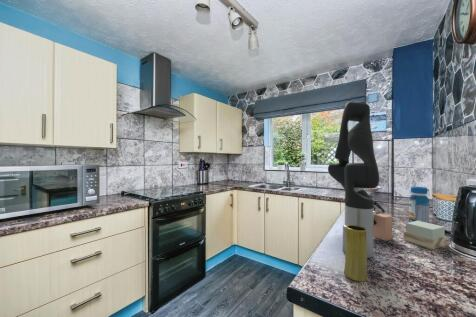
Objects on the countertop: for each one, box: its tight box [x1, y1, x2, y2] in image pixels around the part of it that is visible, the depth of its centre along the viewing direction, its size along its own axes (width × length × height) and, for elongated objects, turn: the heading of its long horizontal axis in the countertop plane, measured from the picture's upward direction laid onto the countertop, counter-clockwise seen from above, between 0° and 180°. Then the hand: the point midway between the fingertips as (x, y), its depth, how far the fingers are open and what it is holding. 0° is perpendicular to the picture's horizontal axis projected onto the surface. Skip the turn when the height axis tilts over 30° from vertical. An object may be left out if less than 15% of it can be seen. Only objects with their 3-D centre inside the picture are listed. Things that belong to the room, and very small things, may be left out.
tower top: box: [405, 221, 446, 240], centre depth 85 cm, size 9×9×4 cm
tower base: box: [403, 230, 447, 250], centre depth 85 cm, size 10×10×4 cm
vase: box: [343, 225, 369, 282], centre depth 60 cm, size 6×6×14 cm
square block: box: [373, 213, 394, 241], centre depth 90 cm, size 5×5×10 cm
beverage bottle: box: [408, 186, 430, 223], centre depth 110 cm, size 8×8×20 cm
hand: (381, 223), depth 91 cm, fingers open, 8 cm apart
